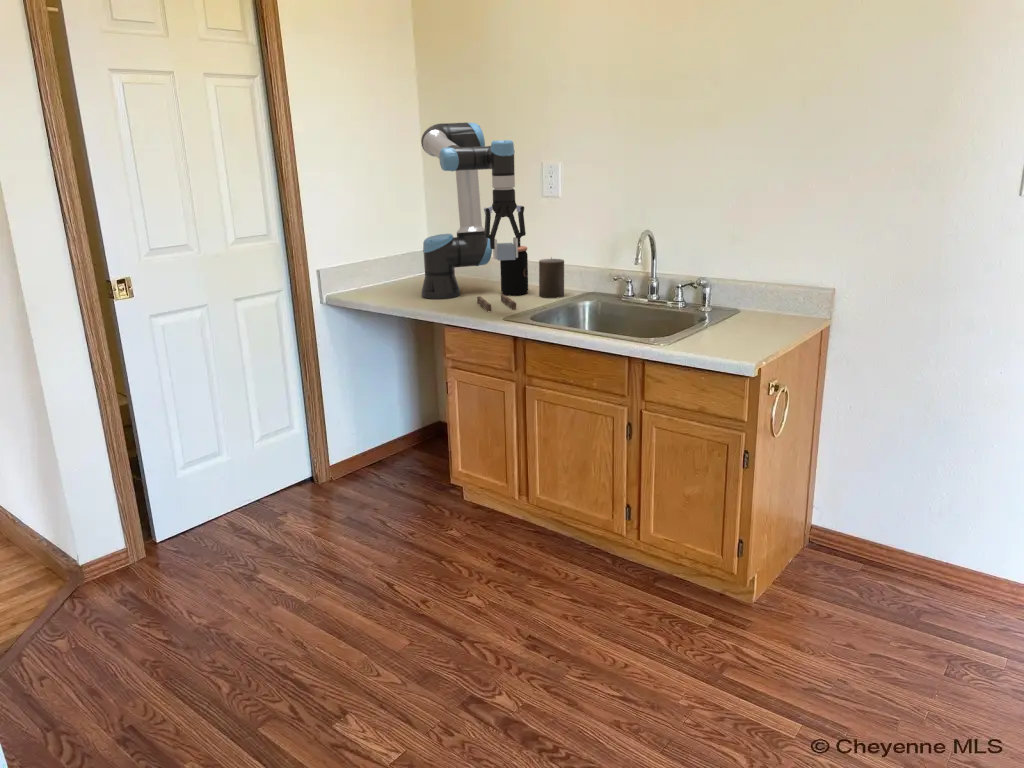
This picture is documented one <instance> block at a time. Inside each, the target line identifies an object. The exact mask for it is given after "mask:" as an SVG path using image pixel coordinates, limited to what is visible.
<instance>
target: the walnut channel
mask: <svg viewBox="0 0 1024 768" xmlns="http://www.w3.org/2000/svg"><path fill="white" fill-rule="evenodd" d="M476 299H477V300H476V301H477V304H478V305H479V304H480V305H481V306H482V307H481V306H480V305H479V306H480V307H481V308H483V309H484V308H485V309H486V310H487V311H486V310H485V309H484V310H485V311H486V312H488V311H492V304H491V303H489V302H488V301H487V300H485V299H484V298H483V297H482V296H477V297H476ZM500 302H502V303H503V304H504V303H505V306H507V305H508V306H509V307H508V306H507V307H508V308H510V309H511V308H512V309H511V310H513V309H516V310H517V302H515V300H513V299H511V298H510V297H508V295H504V294H503V293H502V294H500Z"/></svg>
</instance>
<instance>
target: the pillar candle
mask: <svg viewBox="0 0 1024 768" xmlns="http://www.w3.org/2000/svg"><path fill="white" fill-rule="evenodd" d="M538 263H539V265H538V269H539V270H538V276H539V277H538V296H539V297H541V298H545V299H546V298H547V299H550V298H551V299H558V298H557V297H559V298H563V297H564V296H565V260H564V259H562V258H553V257H552V256H550V258H543V259H539V260H538ZM562 296H563V297H562Z"/></svg>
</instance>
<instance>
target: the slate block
mask: <svg viewBox="0 0 1024 768" xmlns="http://www.w3.org/2000/svg"><path fill="white" fill-rule="evenodd" d="M497 258H498V259H496V260H497V261H500V260H516V259H515V246H514V244H513V242H503V243H502V242H497Z"/></svg>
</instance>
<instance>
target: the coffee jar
mask: <svg viewBox="0 0 1024 768" xmlns="http://www.w3.org/2000/svg"><path fill="white" fill-rule="evenodd" d="M527 251H528V247H527V246H525V245H520V247H518V258H516V257H515V259H516V260H500V263H499V264H500V267H499V268H500V291H501V293H502V294H504V295H506V296H508V295H511V296H512V297H513V296H514V297H516V296H523V295H526V294H527V293H528V291H529V262H528V261H529V259H528V256H529V255H528V252H527ZM511 296H510V297H511Z"/></svg>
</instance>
